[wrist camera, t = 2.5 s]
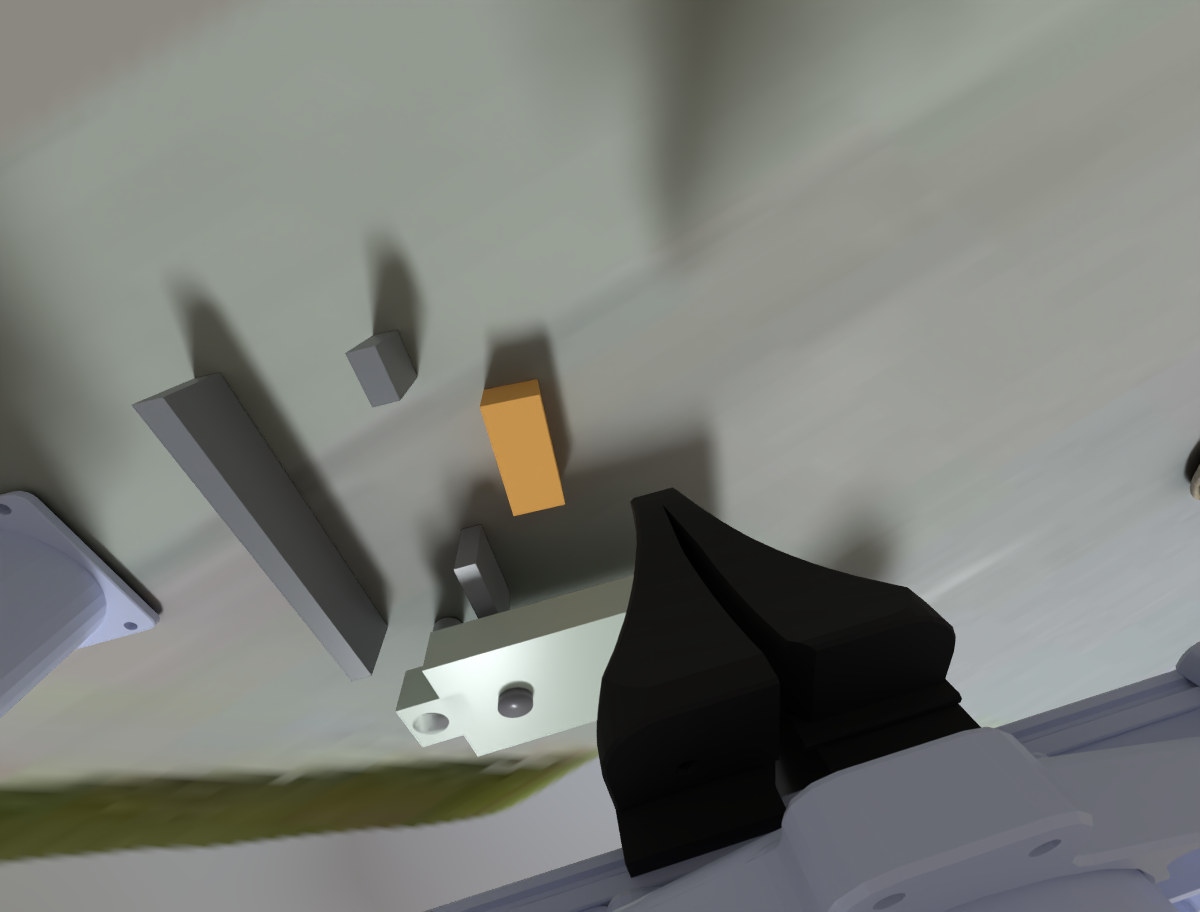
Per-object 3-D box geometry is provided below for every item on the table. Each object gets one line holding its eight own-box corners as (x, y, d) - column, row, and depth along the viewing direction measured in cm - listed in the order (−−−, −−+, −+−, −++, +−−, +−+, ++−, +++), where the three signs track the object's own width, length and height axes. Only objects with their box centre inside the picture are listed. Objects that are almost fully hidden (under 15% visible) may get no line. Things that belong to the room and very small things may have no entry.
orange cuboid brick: (514, 489, 21) (513, 516, 19) (484, 388, 19) (479, 406, 17) (560, 478, 21) (565, 504, 19) (536, 377, 19) (539, 394, 17)
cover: (405, 589, 23) (371, 693, 17) (673, 515, 23) (717, 593, 18) (453, 669, 26) (437, 777, 21) (686, 602, 27) (726, 689, 22)
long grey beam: (370, 632, 24) (351, 681, 21) (193, 378, 16) (131, 404, 14) (509, 592, 24) (508, 636, 21) (397, 329, 17) (374, 346, 14)
